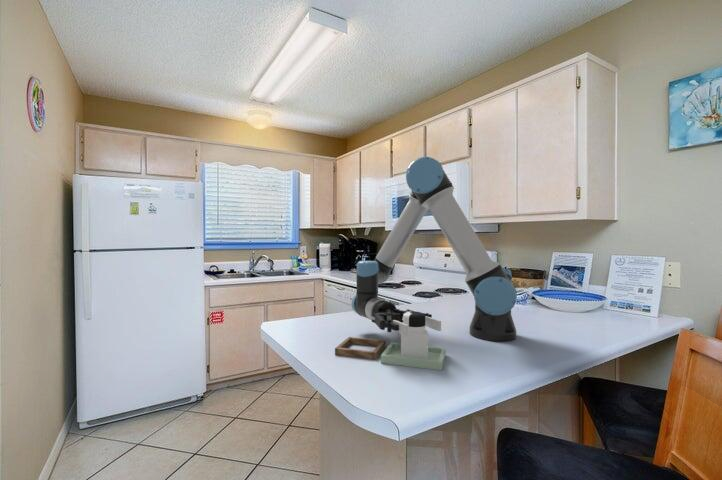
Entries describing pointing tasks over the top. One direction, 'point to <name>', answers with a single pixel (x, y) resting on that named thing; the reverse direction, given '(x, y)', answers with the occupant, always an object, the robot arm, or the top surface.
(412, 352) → the medicine bottle
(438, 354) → the tray
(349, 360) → the top surface
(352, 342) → the frame
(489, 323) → the robot arm
